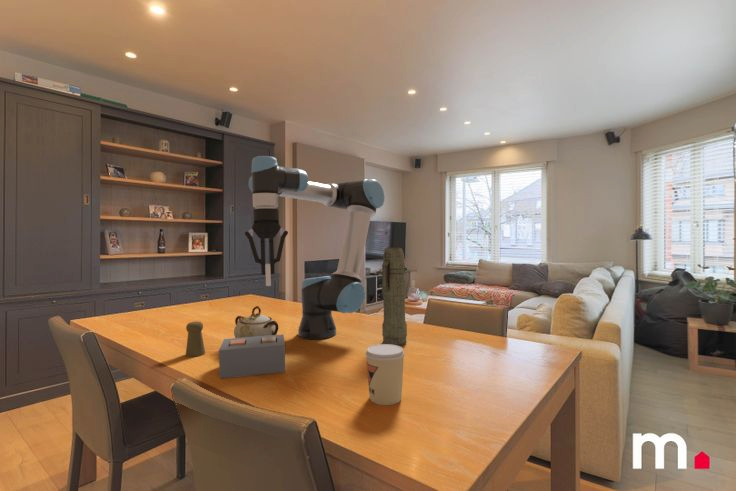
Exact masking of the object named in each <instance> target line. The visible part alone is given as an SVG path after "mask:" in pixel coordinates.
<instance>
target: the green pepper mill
mask: <svg viewBox="0 0 736 491" xmlns="http://www.w3.org/2000/svg"><path fill="white" fill-rule="evenodd" d="M203 329H204V325H203V323H202V322H201V321H192V322H189V323H187V325H186V327H185V330H186V332H187V338H186V339H187V341H186V350H185V357H187V358H197V357H200V356H203V355H205V353H206V350H205V345H204V339H203V332H202V330H203Z"/></svg>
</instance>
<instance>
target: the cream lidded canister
mask: <svg viewBox="0 0 736 491" xmlns="http://www.w3.org/2000/svg"><path fill="white" fill-rule="evenodd" d="M365 356H366V368H367V370H366V371H367V382H368V392H369V393H368V394H369V399H370V401H371V402H372V403H374V404H376V405H380V406H390V405H391V406H392V405H395V404H398V403H400V402H401V401H402V394H403V379H404V378H403V377H404V376H403V375H404V356H405V351H404V349H403V347H402V346H401V345H400V346H397V345H392V344H384V343H378V344H373V345H370V346H368V347H367V349H366V351H365Z"/></svg>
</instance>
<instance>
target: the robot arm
mask: <svg viewBox="0 0 736 491" xmlns="http://www.w3.org/2000/svg"><path fill="white" fill-rule="evenodd" d="M277 160H278V159H277V158H276V157H275V156H269V155H257V156H254V157H253V158H252V160H251V171H250V173H251V176H250V177H249V179H248V188H249V190H250V192H251V193H252V207H253V208H254V209H253V210H252V217H253V220H252V221H253V224H252V225H251V228H250V229H249V230H247V231H245V232H244V235H245V236H246V238H247V239H248V241H249V245H250V249H251V252H252V256H253V258H254V262H255V263H256V264H260V267H261V269H260V270H261V275H263V276H265V286H266V287H271V286H272V277H271V275H274V274H275V264H277V263H278V262H279V263H280V261H281V258H282V252H283V247H284V243H285V239H286V238H287V235H288V234H289V231H288V230H285V229H284V228H282V227H281V224H280V211H279V209H278V207H279V197H283V198H290V199H296V200H303V201H308V202H315V203H321V204H322V205H324V206H326V207H330V208H335V209H342V210H346V211H348V213H349V216H348V220H347V224H346V229H345V233H344V237H343V243H342V247H341V251H340V255H339V260H338V264H337V269H336V271H334V272H333V273H331V275H326V276H317V277H310V278H304V279H302V282H301V306H302V307H301V309H302V310H301V312H302V315H301V316H302V317H301V320H300V323H299V326H298V329H297V330H298V331H297V332H298V337H300V338H302V339H309V340H319V339H326V338H327V339H328V338H332V337H335V336H336V335H337V326H336V323H335V321H334V317H333V314H332V312H337V313H341V314H353V313H356V312H357V311H358V310H359V309H361V308H362V305H363V303H364V301H365V298H366V292H365V287H364V285H363V284H362V282H363V281H362V278H361V276H360V271H361V266H362V262H363V257H364V252H365V246H366V241H367V237H368V233H369V228H370V222H371V219H372V218H373V217H375V216H376V212H377V209H380V208H382V206H383V205H384V202H385V191H384V188H383V187H382V184H381V183H380V182H379V181H378V180H377V179H374V178H371V179H369V178H368V179H367V178H365V179H362V180H352V181H345V182H337V183H333V182H326V183H320V182H315V181H310V180H309V176H308V173H307V172H306V171H305V170H304V169H300V168H297V167H296V168H295V167H289V166H288V167H286V166H281V165H279V164H278V161H277ZM278 233H279V236H280V238H279V243H278V247H277V252H276V257H275V249H274V238H276V236H277V234H278ZM254 234H255V235H256V236H257V238H259V239H260V258H259V254H258V251H257V250H258V249H257V248H256V244H255V243H256V242H255V240H254ZM265 239H268V241H269V242H268V243H269V248H268V249H269V263H266V243H265V242H266V240H265Z"/></svg>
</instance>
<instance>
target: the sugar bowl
mask: <svg viewBox="0 0 736 491" xmlns="http://www.w3.org/2000/svg"><path fill="white" fill-rule="evenodd" d="M256 309H257V310H258V313H255V311H256ZM261 313H262V309H261V307H260V306H259V305H257V306H255V307H253V308H252V310H251V315H249V316H246V317H245V316H242V315H237V316H236V318H235V320H234V321H235V322H234V323H235V327H234V328H233V329H234V330H233V334H234V338H243V337H256V336H269V335H278V332H279V325H278V322H277V321H276V320H274V319H273V318H272V317H270V316H267V315H265V314H261Z"/></svg>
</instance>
